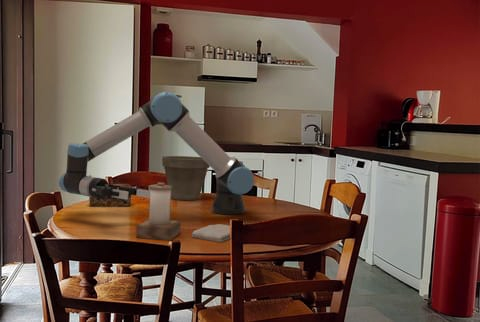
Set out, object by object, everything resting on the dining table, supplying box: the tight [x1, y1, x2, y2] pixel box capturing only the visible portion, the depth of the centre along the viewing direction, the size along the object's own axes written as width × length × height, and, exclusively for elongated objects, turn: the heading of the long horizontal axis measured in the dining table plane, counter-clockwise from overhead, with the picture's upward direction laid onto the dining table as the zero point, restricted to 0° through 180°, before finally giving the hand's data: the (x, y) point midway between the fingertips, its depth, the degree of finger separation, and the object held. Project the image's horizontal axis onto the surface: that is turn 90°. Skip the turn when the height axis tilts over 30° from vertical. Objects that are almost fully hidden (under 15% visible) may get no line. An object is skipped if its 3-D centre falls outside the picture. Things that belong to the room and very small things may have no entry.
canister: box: [148, 182, 172, 225], centre depth 164 cm, size 7×7×14 cm
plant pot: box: [161, 155, 211, 201], centre depth 247 cm, size 25×25×22 cm
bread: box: [88, 183, 133, 208], centre depth 219 cm, size 19×11×10 cm, turn 102°
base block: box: [136, 218, 181, 241], centre depth 165 cm, size 12×12×4 cm
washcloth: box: [191, 223, 231, 243], centre depth 168 cm, size 12×18×3 cm, turn 153°
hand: (139, 195), depth 169 cm, fingers open, 13 cm apart
